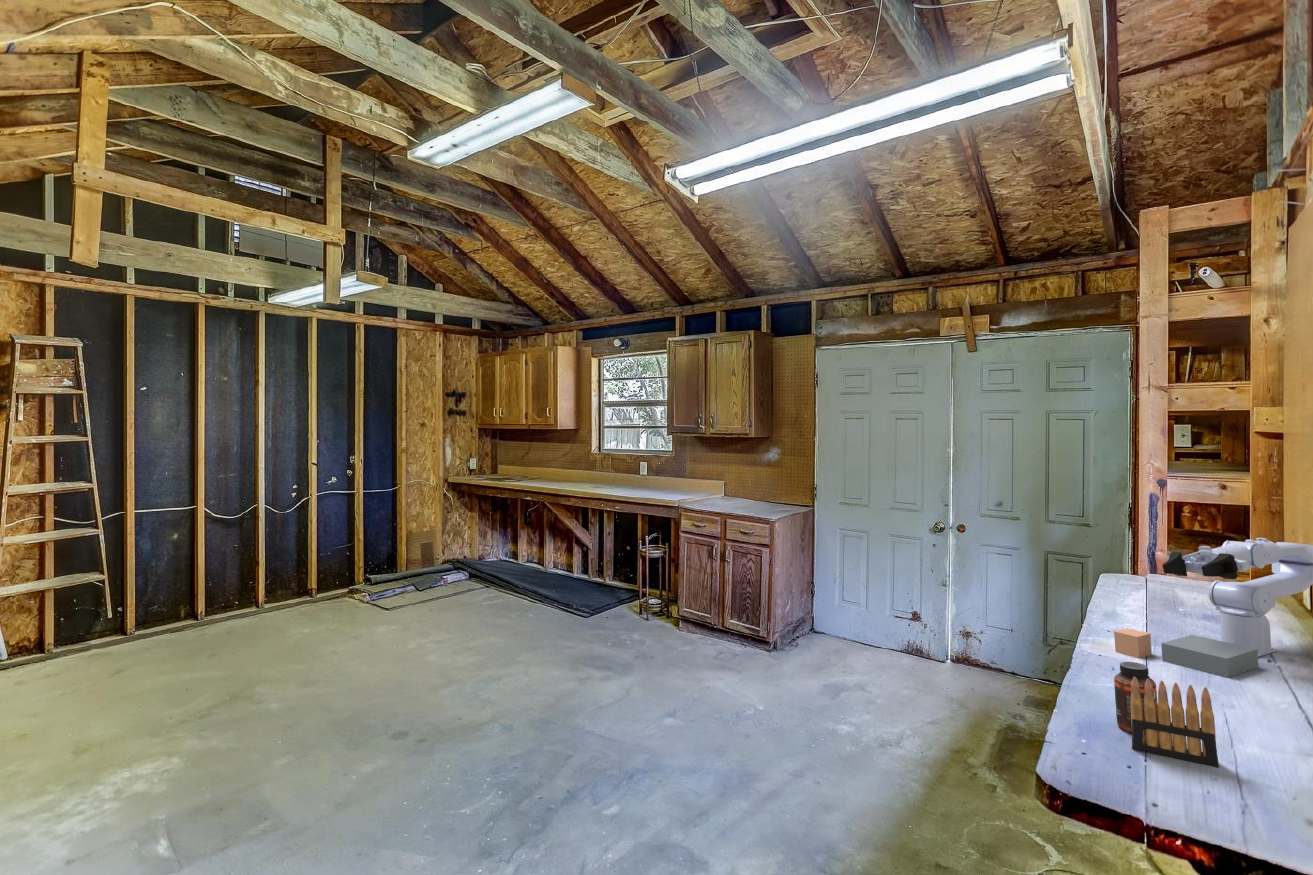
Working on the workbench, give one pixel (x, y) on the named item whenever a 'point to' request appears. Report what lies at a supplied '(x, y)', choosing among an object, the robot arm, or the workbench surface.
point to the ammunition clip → (1173, 725)
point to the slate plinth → (1210, 655)
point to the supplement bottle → (1124, 691)
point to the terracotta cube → (1133, 643)
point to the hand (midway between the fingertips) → (1184, 570)
